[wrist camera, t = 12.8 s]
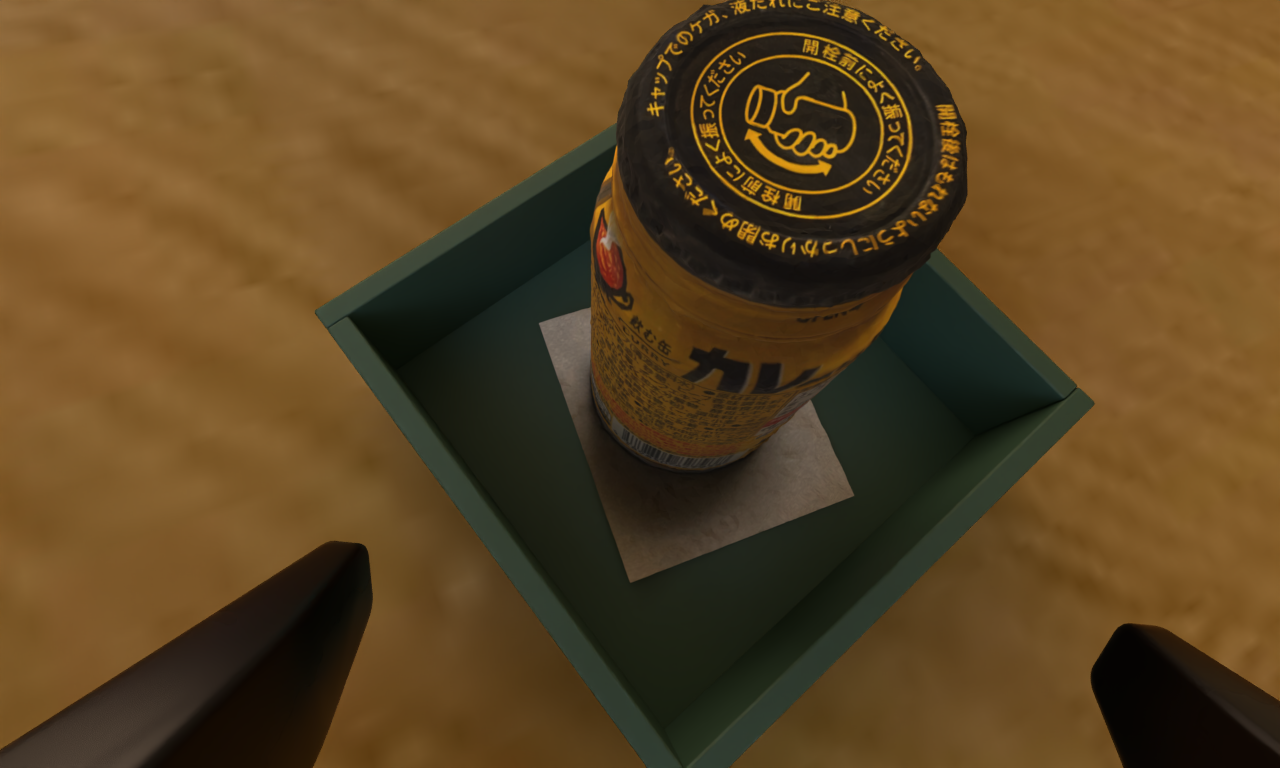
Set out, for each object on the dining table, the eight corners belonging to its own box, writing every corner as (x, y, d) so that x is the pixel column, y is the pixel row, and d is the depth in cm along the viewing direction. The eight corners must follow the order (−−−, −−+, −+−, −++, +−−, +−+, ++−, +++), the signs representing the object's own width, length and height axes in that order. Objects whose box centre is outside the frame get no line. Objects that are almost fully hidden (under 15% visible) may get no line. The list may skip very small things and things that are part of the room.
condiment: (743, 262, 22) (904, -94, 11) (852, 496, 20) (1205, 363, 8) (538, 326, 21) (471, -1, 9) (629, 583, 18) (685, 567, 7)
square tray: (985, 445, 21) (1097, 403, 17) (658, 756, 18) (682, 815, 13) (706, 155, 24) (734, 48, 19) (377, 375, 21) (312, 310, 16)
